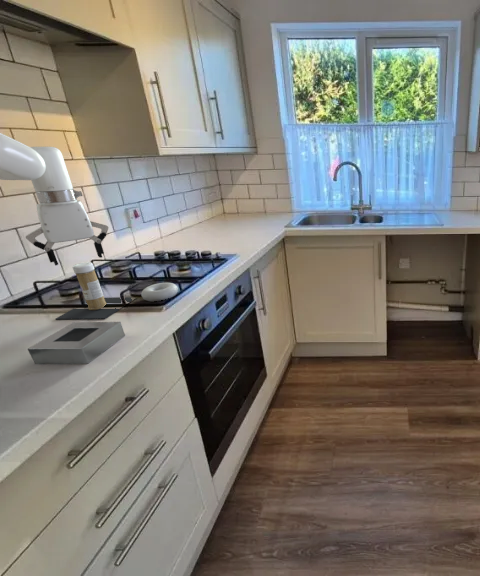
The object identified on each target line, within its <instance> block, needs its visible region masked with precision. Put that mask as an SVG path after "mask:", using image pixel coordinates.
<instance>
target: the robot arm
mask: <svg viewBox="0 0 480 576" xmlns="http://www.w3.org/2000/svg"><path fill="white" fill-rule="evenodd" d="M0 180H1V181H31V184H32V186H33V189H34V191H35V194H36V197H37V199H38V203H37V204H36V212H37V217H38V221H39V224H40V227H38V228H36V229H35V230H33V231H31V232H30V233H28V234H26V235H25V239H26V240H27V241H28V242H29V243H31V244H32V245H33V246H34V247H36V248H38V249H40V250H43V251H44V252H45V253H46V255H47V257H48V260H49V263H53V264H54V266H55V267H56V266H58V265H59V262H58V260H57V257H56V254H55V252H54V249H53V246H54V245H55V244H59V243H65V242H73V241H80V240H87V239H89V240H92V241H93V245H94V248H95V251H96V255H97V257H98V258H103V254H105V251H104V248H103V245H102V242H103V241H104V239H105V238H106V237H107V233H108V230H109V226H108V225H106V224H103V223H99V222H95V221H92V220H90V218H89V215H88V213H87V211H86V209H85V205H84V204H83V202H82V201H81V200H78V198H79V197H83V193H82V190H75V189H74V186H73V184H72V181H71V177H70V174H69V172H68V168H67V165H66V161H65V159H64V156H63V153H62V151H61V150H60V149H59V148H57V147H55V146H28V145H26V144H25V143H24V142H23V143H22V142H21V141H19V140H17V139H14V138H12V137H10V136H8V135H6V134H4V133H2V132H0ZM94 228H97V229H99V230H100V233H99V234H98V235H97V236H96V235H95V233H94V232H95V231H94ZM42 234H43V235H44V238H45V240H46V242H45V243H43V242H40V241H39V240H38V239H36V238H37V237H38V236H40V235H42Z"/></svg>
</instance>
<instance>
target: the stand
mask: <svg viewBox="0 0 480 576" xmlns="http://www.w3.org/2000/svg"><path fill="white" fill-rule="evenodd" d="M125 336H126V334H125V331H124V328H123V324H122V322H121V321H73V322H71V323H69V324H67V325H66V326H64V327H62V328H61V329H59V330H57V331H55V332H54V333H52V334H50V335H48V336H47V337H45V338H44V339H42V340H40V341H38V342H36V343H35V344H33V345H32V346H30V347H28V348H27V351H28V353H29V355H30V357H31V359H32V361H33V363H34V365H88V364H90V363H91V362H92V361H94V360H95V359H97V358H98V357H99V356H100V355H102V354H103V353H104V352H106V351H107V350H108V349H109V348H111V347H112V346H113V345H115V344H116V343H118V342H119V341H120V340H122V339H123V338H124V337H125Z"/></svg>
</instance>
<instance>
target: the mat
mask: <svg viewBox="0 0 480 576" xmlns="http://www.w3.org/2000/svg"><path fill="white" fill-rule="evenodd" d="M120 297H121V296H120ZM120 297H116V296H115V297H104V299H105V302H106V303H121V299H120ZM131 297H132V296H125V300H126V301H127V302H131V301H132V299H131ZM85 302H86V301H85ZM86 303H87V302H86ZM131 303H132V302H131ZM119 311H120V310H119V309H116V308H115V309H98V310H89V309H74V308H72V309H70V310H68V311H67V312H65V313H62V314H60V315H59V316H57V317H56V318H55V321H72V320H73V321H74V320H75V321H77V320H78V321H79V320H82V321H83V320H85V321H86V320H87V321H89V320H90V321H91V320H92V321H93V320H107V319H108V318H109V317H111V316H112V315H114V314H116V313H117V312H119Z"/></svg>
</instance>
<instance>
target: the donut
mask: <svg viewBox="0 0 480 576" xmlns="http://www.w3.org/2000/svg"><path fill="white" fill-rule="evenodd" d="M178 292H179V287H178V285H177V284H175V283H173V282H158V283H154V284H151V285H148V286H147V287H145V288H143V290H142V291H141V294H140V295H141V298H142V300H144V301H147V302H151V303H153V302H154V301H157V302H162V301H161V300H163V301H166V300H169V299H171V298H173V297H175V296H176V295H177V294H178ZM168 298H169V299H168ZM165 299H166V300H165Z"/></svg>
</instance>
